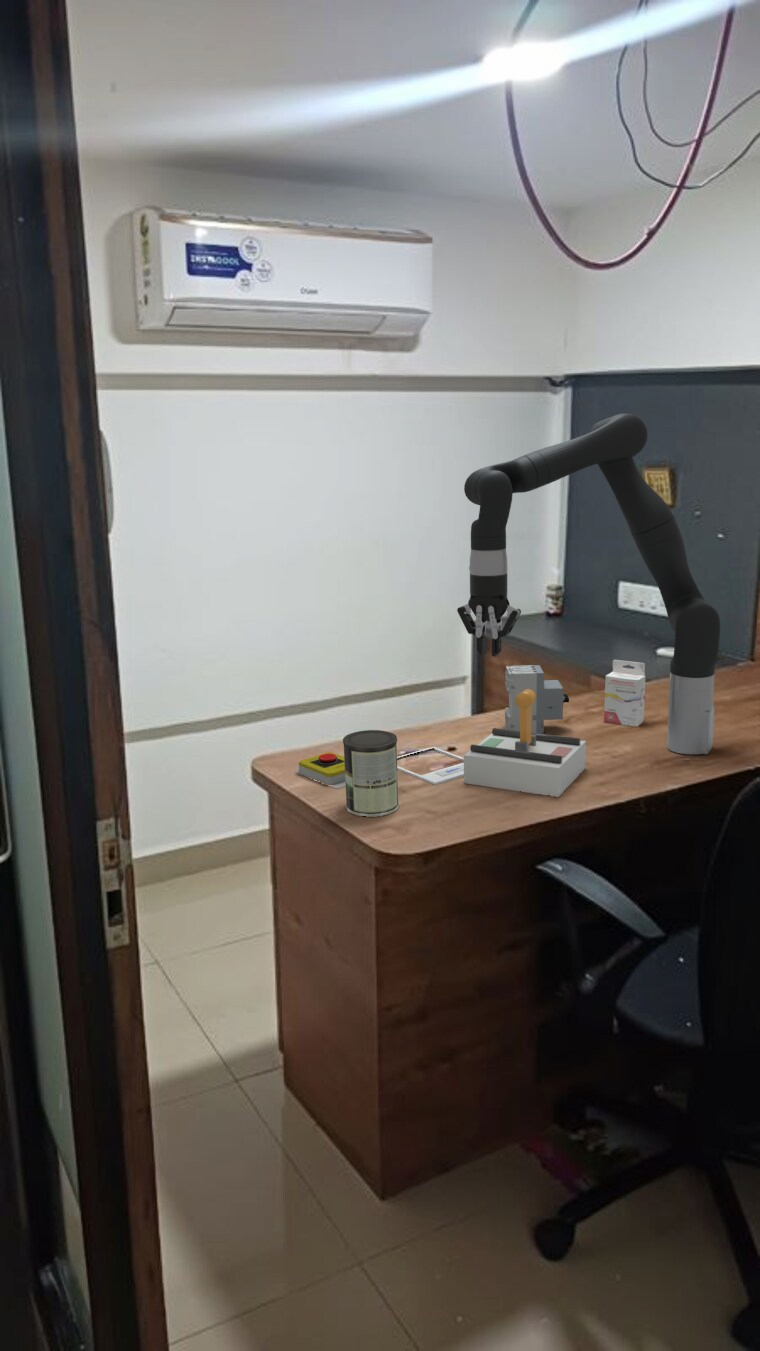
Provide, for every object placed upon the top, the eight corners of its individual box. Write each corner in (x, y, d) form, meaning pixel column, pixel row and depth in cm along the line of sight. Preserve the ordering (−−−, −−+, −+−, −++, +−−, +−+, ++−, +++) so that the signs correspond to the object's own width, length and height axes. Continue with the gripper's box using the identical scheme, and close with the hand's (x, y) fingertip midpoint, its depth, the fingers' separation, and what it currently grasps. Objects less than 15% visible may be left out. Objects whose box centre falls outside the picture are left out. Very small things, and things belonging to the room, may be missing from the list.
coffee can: (334, 808, 192) (331, 739, 189) (372, 793, 200) (369, 726, 196) (373, 822, 185) (370, 750, 182) (410, 805, 193) (408, 736, 189)
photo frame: (434, 781, 203) (381, 760, 217) (435, 787, 203) (381, 765, 217) (487, 765, 211) (433, 745, 225) (487, 770, 212) (433, 750, 226)
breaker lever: (536, 741, 206) (536, 690, 203) (530, 747, 203) (530, 694, 200) (521, 739, 207) (521, 688, 204) (515, 745, 204) (515, 692, 201)
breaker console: (585, 768, 210) (586, 732, 208) (558, 797, 194) (558, 758, 192) (496, 756, 219) (496, 721, 217) (463, 783, 204) (463, 745, 202)
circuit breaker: (569, 734, 232) (570, 672, 228) (508, 736, 233) (508, 673, 229) (564, 725, 239) (565, 664, 236) (505, 726, 240) (505, 666, 236)
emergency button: (326, 744, 218) (370, 760, 207) (327, 763, 220) (371, 780, 208) (291, 754, 213) (335, 771, 202) (293, 774, 214) (336, 791, 203)
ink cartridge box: (603, 722, 240) (604, 663, 237) (610, 717, 244) (611, 658, 241) (637, 727, 236) (639, 667, 232) (644, 721, 240) (646, 662, 236)
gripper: (527, 570, 200) (527, 654, 204) (464, 567, 206) (465, 648, 211) (514, 575, 193) (514, 662, 198) (449, 572, 200) (450, 656, 204)
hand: (489, 654), depth 204 cm, fingers closed
